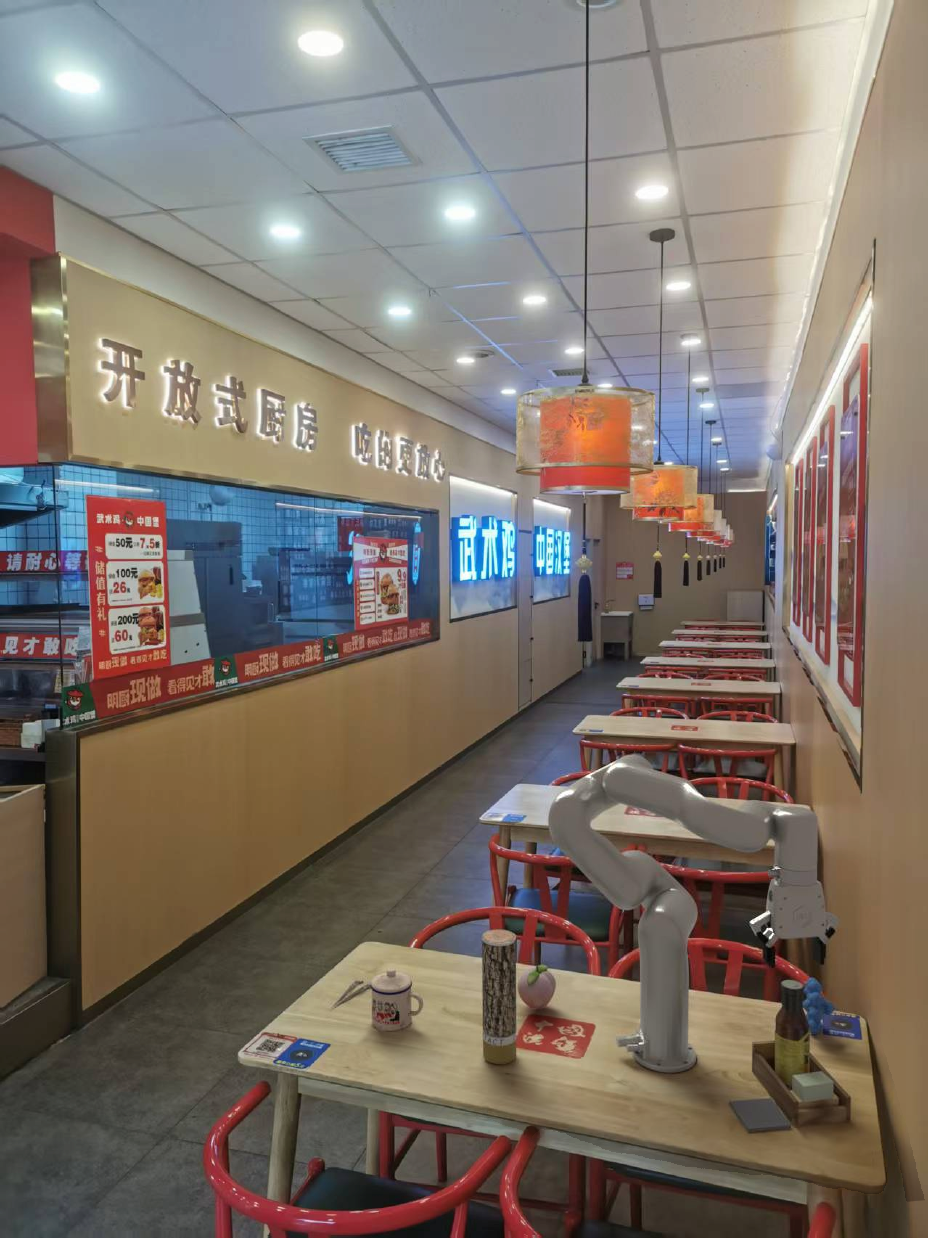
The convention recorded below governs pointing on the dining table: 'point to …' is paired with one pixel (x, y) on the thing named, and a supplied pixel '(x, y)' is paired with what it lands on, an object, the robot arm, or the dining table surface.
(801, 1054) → the sauce bottle
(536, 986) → the decorative fruit
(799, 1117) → the wooden tray
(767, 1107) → the mat
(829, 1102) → the plate
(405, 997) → the teacup with lid
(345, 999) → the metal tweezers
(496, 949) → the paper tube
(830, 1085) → the offcut top
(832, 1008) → the grapes
